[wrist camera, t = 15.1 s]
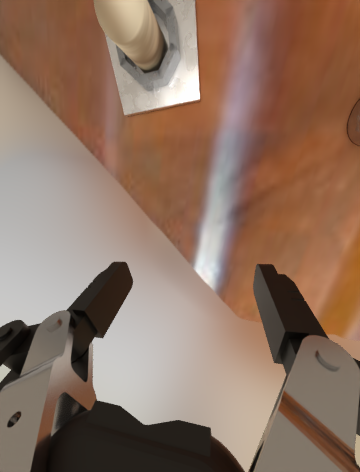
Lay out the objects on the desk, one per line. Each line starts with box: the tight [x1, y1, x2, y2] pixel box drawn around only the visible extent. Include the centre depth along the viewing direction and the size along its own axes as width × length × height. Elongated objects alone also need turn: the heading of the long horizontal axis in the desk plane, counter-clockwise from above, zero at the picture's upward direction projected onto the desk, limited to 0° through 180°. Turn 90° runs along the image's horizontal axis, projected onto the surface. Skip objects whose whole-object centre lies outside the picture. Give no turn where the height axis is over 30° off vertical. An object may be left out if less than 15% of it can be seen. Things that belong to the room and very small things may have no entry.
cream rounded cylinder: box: [94, 0, 168, 74], centre depth 20 cm, size 5×5×10 cm
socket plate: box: [105, 0, 200, 117], centre depth 23 cm, size 14×14×4 cm
